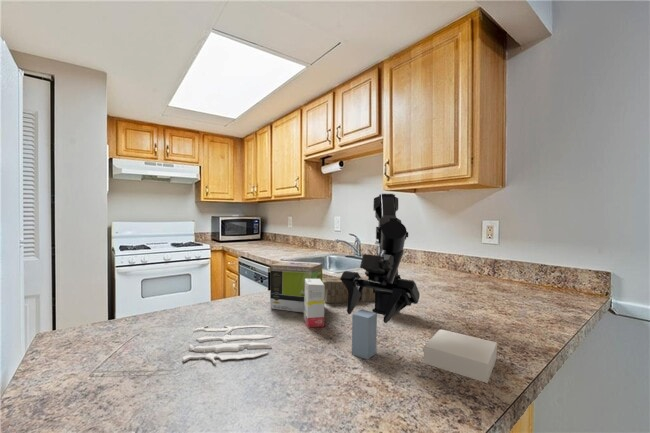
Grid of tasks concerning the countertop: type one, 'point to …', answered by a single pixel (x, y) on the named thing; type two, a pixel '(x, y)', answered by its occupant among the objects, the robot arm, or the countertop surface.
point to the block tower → (343, 291)
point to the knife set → (219, 345)
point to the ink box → (314, 303)
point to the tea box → (291, 283)
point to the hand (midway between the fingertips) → (365, 317)
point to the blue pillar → (364, 333)
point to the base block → (461, 354)
